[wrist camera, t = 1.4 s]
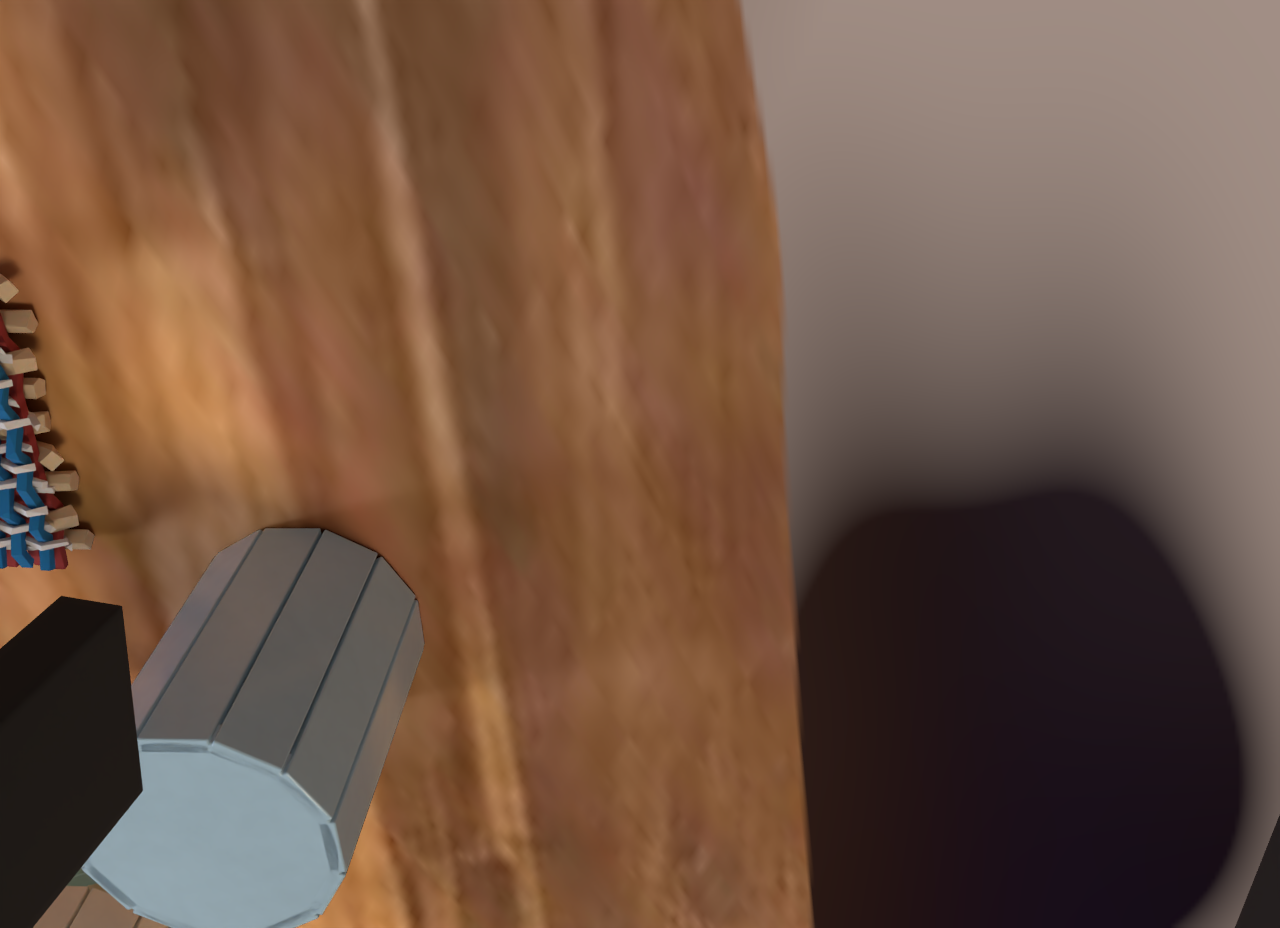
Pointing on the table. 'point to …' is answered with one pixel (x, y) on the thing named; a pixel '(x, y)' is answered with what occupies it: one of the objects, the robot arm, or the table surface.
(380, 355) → the table surface
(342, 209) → the table surface
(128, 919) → the cream cup
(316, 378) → the table surface
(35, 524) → the woven mat
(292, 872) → the blue cup
